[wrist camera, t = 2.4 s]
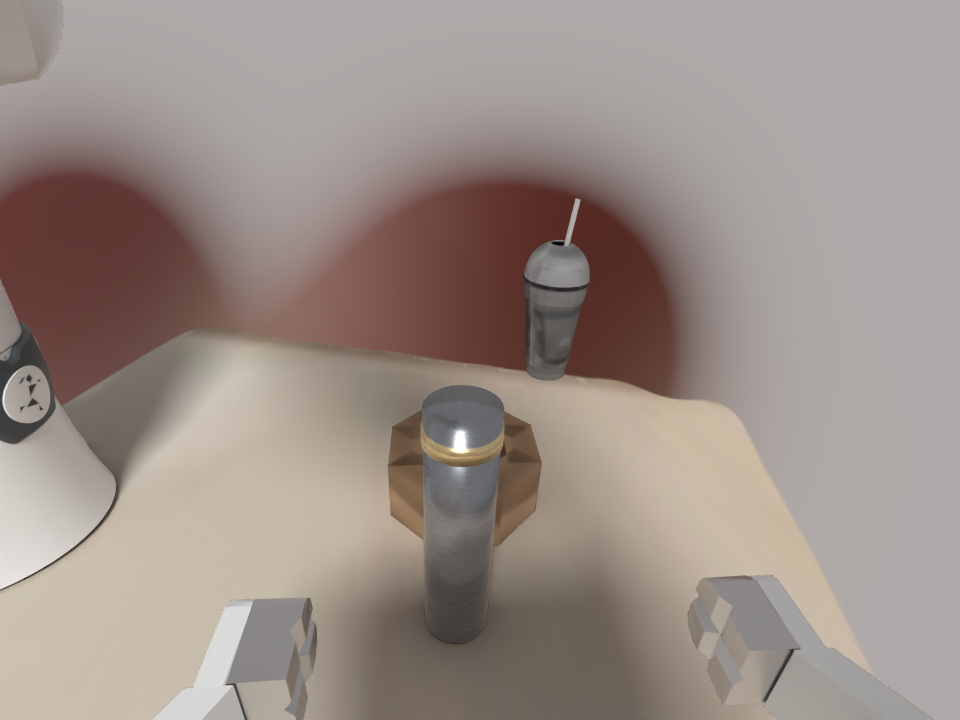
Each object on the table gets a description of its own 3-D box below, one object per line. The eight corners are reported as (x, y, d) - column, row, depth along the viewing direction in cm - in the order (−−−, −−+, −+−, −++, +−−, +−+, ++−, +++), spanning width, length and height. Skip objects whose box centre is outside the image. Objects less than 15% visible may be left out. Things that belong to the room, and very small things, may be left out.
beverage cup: (514, 353, 64) (529, 189, 55) (573, 358, 64) (597, 193, 54) (514, 383, 58) (530, 203, 48) (578, 388, 57) (608, 208, 48)
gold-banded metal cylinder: (422, 647, 31) (419, 433, 23) (423, 586, 34) (421, 384, 27) (492, 643, 31) (511, 432, 23) (485, 584, 35) (500, 384, 27)
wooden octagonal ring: (387, 550, 37) (384, 498, 34) (396, 449, 47) (394, 403, 44) (543, 544, 38) (550, 493, 36) (519, 446, 48) (524, 402, 45)
